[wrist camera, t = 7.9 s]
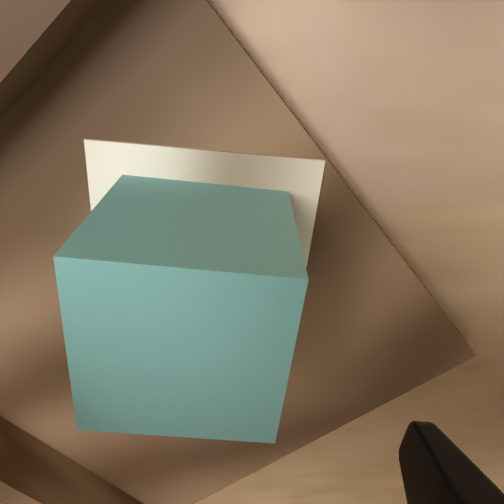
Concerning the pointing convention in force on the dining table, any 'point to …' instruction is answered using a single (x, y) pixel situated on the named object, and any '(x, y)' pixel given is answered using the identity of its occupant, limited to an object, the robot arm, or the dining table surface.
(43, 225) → the arena
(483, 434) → the dining table surface
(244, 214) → the teal block
